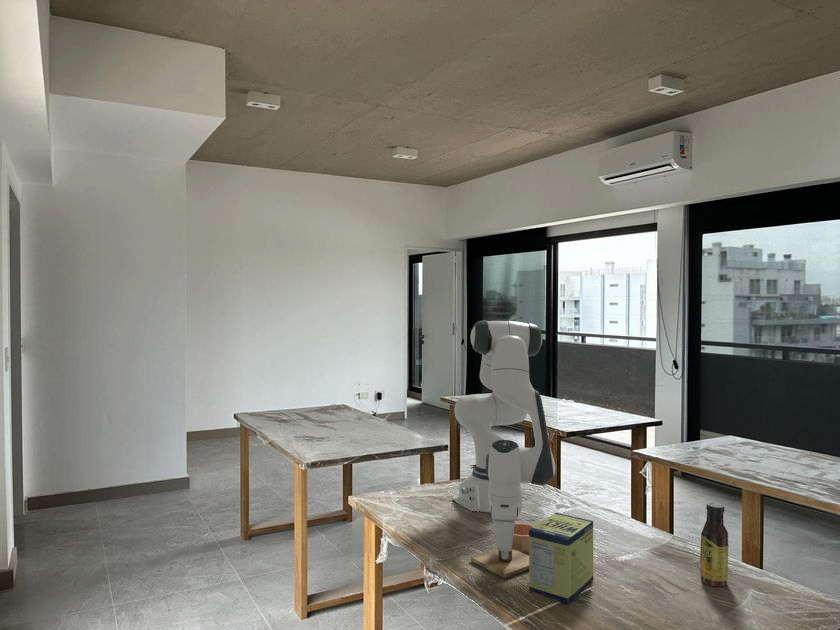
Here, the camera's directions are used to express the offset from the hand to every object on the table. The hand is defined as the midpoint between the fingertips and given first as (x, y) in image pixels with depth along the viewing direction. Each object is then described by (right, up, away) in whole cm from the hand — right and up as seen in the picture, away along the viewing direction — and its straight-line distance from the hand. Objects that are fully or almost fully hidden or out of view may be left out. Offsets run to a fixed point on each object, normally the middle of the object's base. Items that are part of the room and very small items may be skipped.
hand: (505, 554), depth 163 cm
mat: (0, -3, 0) cm, 3 cm away
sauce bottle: (+51, -3, -10) cm, 52 cm away
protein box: (+12, -4, -12) cm, 17 cm away
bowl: (+6, -3, +13) cm, 15 cm away
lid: (0, -2, 0) cm, 2 cm away
